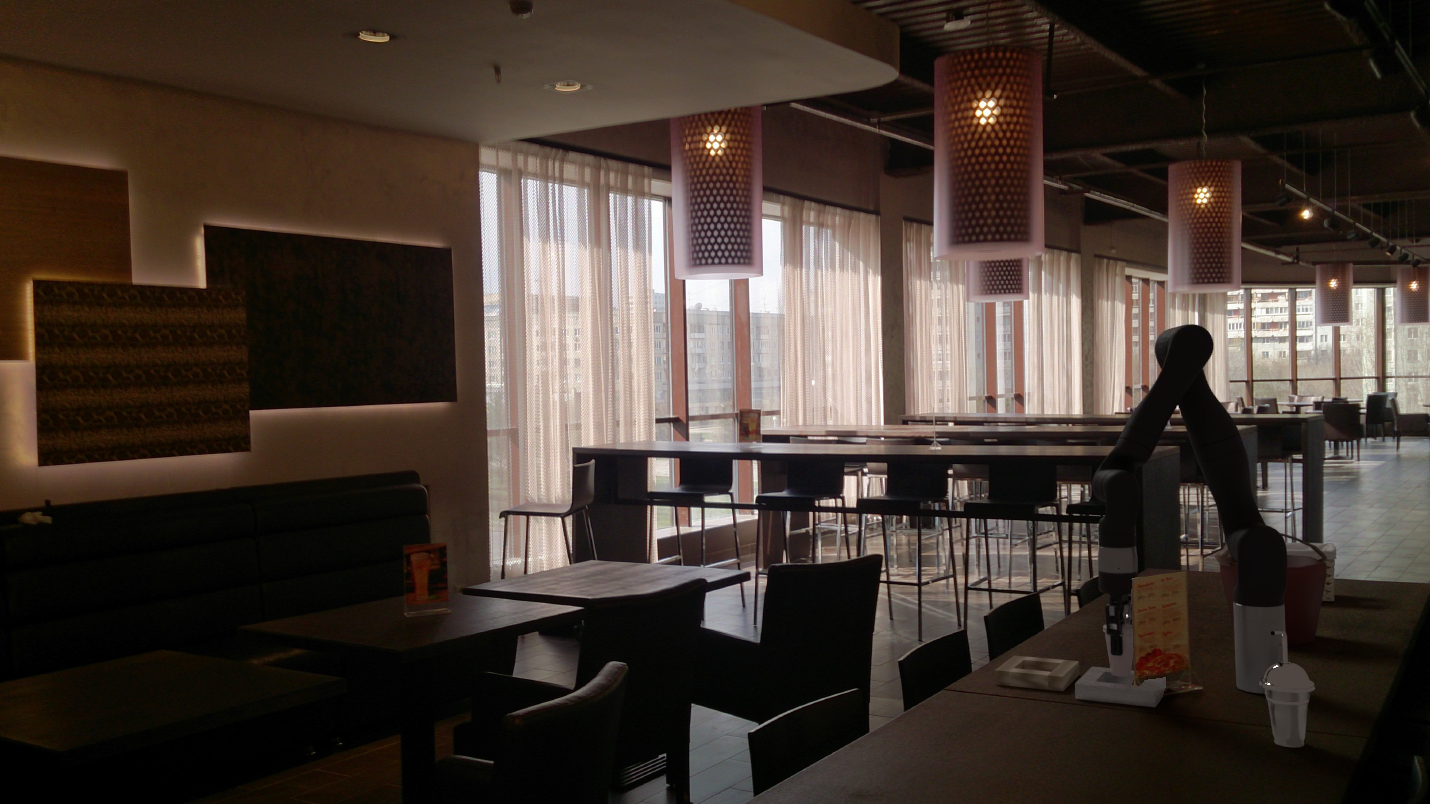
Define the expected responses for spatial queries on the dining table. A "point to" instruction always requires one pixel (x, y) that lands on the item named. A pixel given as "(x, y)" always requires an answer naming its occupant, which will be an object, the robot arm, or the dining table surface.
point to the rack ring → (1118, 688)
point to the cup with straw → (1287, 699)
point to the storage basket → (1327, 549)
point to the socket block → (1037, 673)
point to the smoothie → (1124, 662)
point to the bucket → (1288, 591)
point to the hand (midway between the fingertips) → (1120, 651)
